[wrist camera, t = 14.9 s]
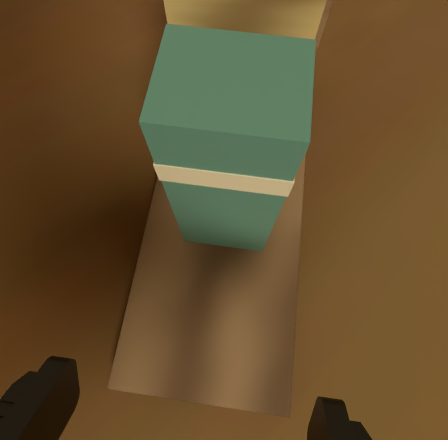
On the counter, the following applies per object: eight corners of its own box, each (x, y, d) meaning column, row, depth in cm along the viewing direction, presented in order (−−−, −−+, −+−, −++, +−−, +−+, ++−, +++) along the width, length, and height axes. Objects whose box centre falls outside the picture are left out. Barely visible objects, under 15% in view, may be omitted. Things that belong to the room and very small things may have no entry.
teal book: (183, 241, 21) (136, 123, 9) (194, 184, 22) (165, 22, 11) (262, 252, 20) (311, 144, 9) (268, 193, 22) (317, 38, 11)
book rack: (115, 385, 19) (-662, 704, 2) (190, 58, 28) (141, -369, 11) (284, 411, 19) (846, 1049, 2) (306, 71, 28) (438, -354, 11)
